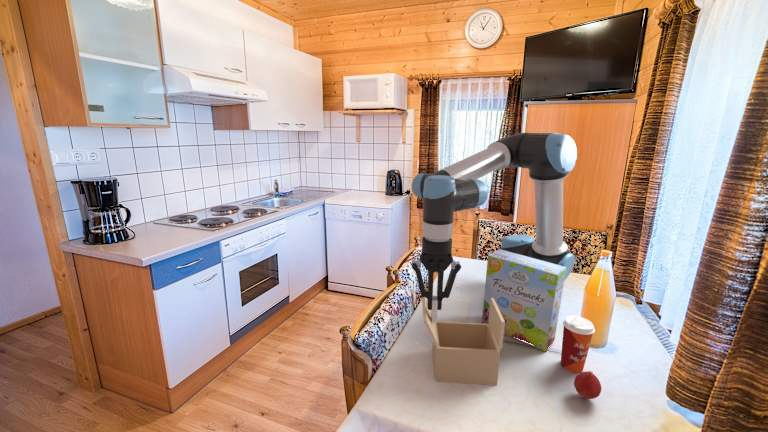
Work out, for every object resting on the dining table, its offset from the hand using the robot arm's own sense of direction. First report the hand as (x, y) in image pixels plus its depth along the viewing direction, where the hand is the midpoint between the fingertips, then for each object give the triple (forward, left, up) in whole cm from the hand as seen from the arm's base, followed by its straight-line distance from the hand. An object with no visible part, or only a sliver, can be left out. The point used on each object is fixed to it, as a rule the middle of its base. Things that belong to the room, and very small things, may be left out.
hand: (433, 319), depth 94 cm
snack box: (-29, -18, -15) cm, 37 cm away
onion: (-38, +9, -15) cm, 41 cm away
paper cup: (-40, -3, -15) cm, 42 cm away
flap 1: (+1, 0, 0) cm, 1 cm away
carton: (-9, 0, -14) cm, 17 cm away
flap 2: (-16, 0, 0) cm, 16 cm away
